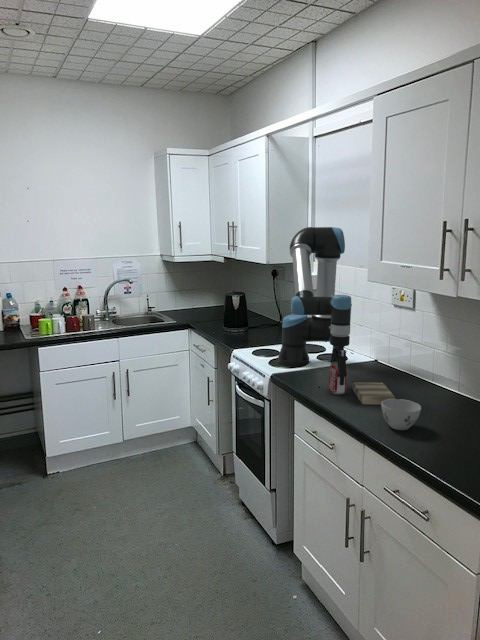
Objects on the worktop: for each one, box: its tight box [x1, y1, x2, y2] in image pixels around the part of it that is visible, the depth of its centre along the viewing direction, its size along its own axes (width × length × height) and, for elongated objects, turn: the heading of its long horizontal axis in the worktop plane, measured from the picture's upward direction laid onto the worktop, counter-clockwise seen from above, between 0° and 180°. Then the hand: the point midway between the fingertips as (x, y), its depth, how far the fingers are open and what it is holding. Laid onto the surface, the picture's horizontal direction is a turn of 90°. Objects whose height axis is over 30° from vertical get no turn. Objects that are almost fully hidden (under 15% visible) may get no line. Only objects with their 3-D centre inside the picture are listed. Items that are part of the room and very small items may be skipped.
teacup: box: [380, 398, 422, 431], centre depth 166 cm, size 15×12×8 cm
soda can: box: [328, 362, 348, 396], centre depth 198 cm, size 7×7×12 cm
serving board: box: [352, 381, 396, 405], centre depth 195 cm, size 17×12×3 cm
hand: (337, 387), depth 199 cm, fingers open, 13 cm apart
